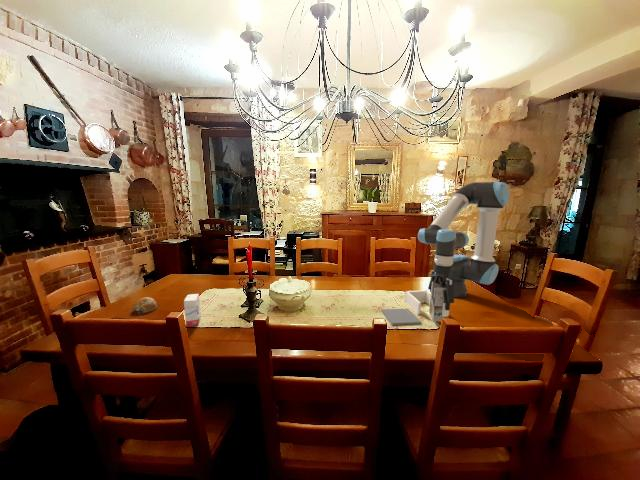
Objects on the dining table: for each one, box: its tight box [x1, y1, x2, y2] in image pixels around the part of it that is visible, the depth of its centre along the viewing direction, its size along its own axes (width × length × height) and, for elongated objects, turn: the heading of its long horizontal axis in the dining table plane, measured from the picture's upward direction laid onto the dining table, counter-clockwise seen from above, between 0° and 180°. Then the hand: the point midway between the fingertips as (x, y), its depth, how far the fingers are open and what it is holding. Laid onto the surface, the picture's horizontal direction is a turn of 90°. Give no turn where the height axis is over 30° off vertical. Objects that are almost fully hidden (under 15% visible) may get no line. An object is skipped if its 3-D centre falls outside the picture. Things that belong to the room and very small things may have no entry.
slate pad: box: [381, 308, 422, 326], centre depth 126 cm, size 14×14×1 cm
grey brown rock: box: [132, 296, 158, 315], centre depth 131 cm, size 10×10×8 cm
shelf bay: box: [404, 290, 431, 315], centre depth 137 cm, size 12×16×6 cm
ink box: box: [183, 293, 202, 327], centre depth 118 cm, size 9×5×12 cm, turn 16°
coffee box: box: [428, 281, 449, 323], centre depth 121 cm, size 9×6×16 cm
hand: (438, 310), depth 122 cm, fingers closed on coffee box, 10 cm apart
